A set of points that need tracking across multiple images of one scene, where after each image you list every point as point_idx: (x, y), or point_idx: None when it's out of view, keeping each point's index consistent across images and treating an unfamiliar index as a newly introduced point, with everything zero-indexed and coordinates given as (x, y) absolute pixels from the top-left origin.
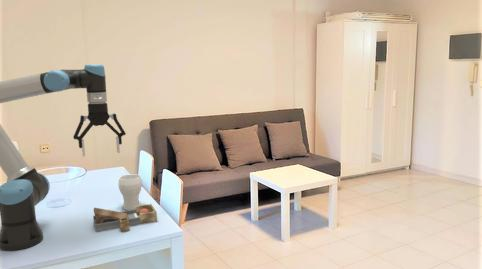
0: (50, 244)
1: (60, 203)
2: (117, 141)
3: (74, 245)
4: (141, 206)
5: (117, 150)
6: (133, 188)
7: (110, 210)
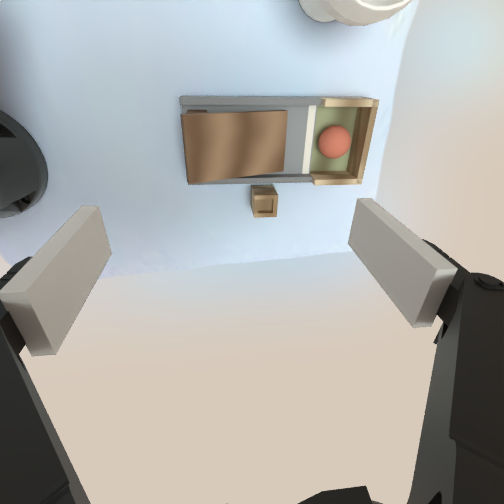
0: None
1: None
2: (394, 298)
3: (143, 234)
4: (342, 106)
5: (357, 237)
6: (363, 25)
7: (238, 114)
